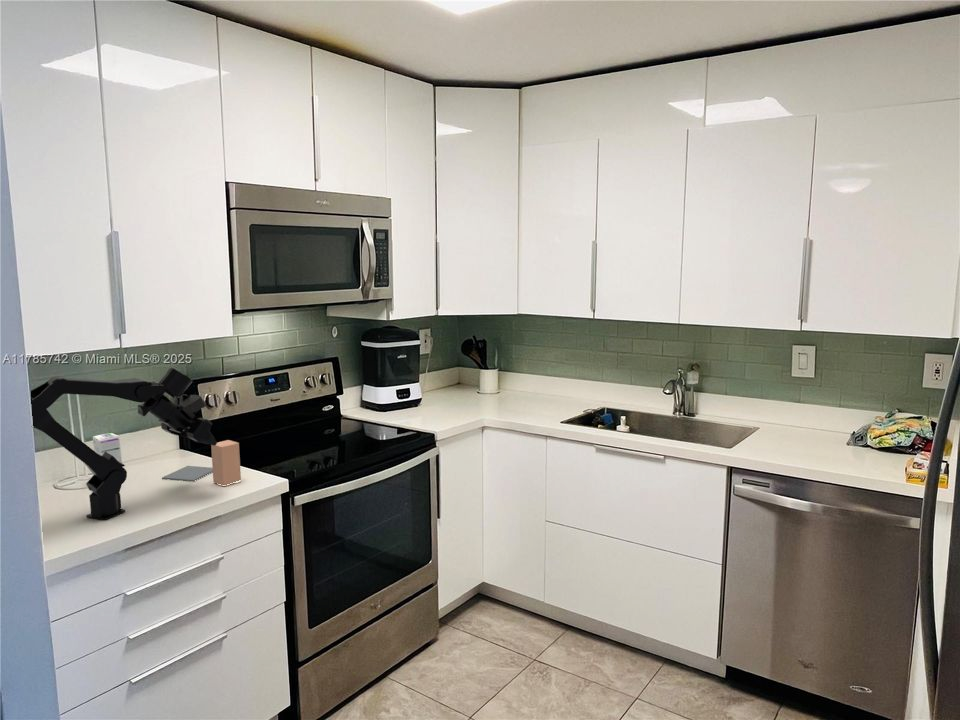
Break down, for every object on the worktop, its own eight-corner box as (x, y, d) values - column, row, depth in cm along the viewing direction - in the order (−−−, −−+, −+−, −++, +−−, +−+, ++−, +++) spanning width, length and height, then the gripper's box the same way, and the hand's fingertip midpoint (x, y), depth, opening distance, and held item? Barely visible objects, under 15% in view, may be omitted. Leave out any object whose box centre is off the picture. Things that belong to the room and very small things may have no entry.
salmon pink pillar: (223, 487, 195) (221, 447, 193) (213, 483, 198) (211, 443, 197) (241, 482, 199) (238, 443, 198) (230, 478, 203) (228, 439, 201)
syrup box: (124, 482, 199) (120, 435, 197) (103, 487, 195) (98, 439, 192) (117, 478, 203) (113, 432, 201) (96, 483, 198) (91, 435, 196)
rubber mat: (193, 481, 200) (193, 480, 200) (162, 479, 202) (161, 477, 202) (218, 469, 211) (218, 468, 211) (187, 467, 214) (187, 465, 214)
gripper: (203, 391, 180) (242, 423, 190) (168, 383, 191) (207, 413, 202) (176, 425, 175) (218, 456, 185) (143, 415, 187) (184, 445, 197)
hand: (207, 441), depth 192 cm, fingers open, 9 cm apart
